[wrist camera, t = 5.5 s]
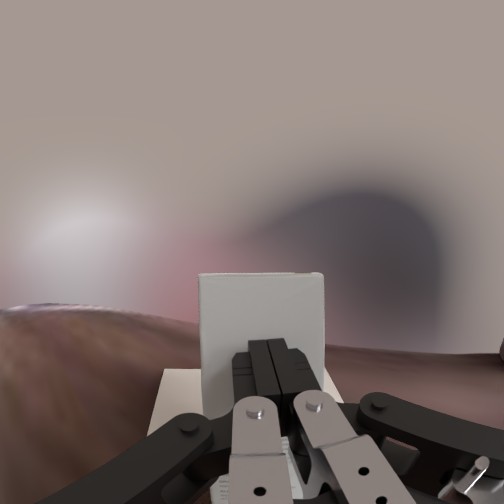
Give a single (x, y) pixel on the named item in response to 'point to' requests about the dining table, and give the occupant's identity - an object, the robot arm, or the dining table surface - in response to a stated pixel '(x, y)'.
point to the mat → (194, 395)
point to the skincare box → (255, 336)
